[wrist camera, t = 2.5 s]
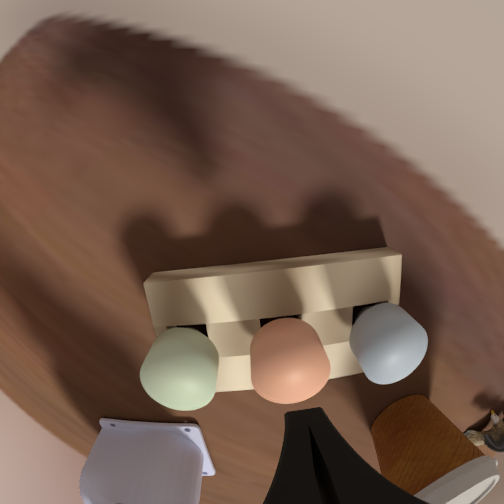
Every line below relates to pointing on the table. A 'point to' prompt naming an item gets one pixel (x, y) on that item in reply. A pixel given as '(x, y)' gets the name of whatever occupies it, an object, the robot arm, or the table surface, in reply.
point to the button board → (275, 303)
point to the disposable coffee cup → (430, 454)
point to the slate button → (387, 342)
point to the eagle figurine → (489, 435)
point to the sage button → (181, 369)
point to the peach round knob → (288, 361)
